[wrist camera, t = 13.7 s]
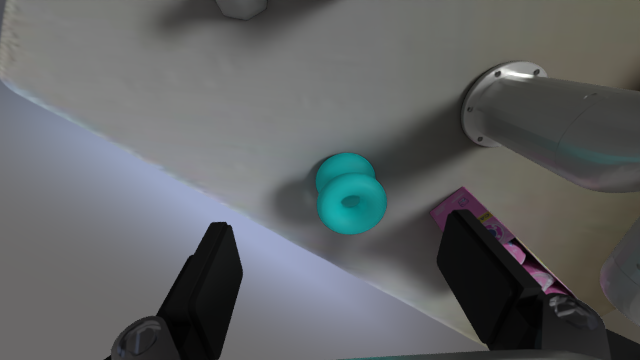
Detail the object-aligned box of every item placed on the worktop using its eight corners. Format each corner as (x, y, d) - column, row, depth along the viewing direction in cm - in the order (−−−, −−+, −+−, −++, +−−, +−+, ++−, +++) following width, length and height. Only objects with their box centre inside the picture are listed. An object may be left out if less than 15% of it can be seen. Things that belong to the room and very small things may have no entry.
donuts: (302, 208, 35) (360, 164, 32) (303, 175, 44) (349, 137, 41) (347, 249, 39) (403, 212, 36) (340, 210, 48) (384, 179, 45)
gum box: (526, 248, 54) (587, 307, 42) (492, 269, 57) (542, 330, 45) (462, 184, 46) (516, 235, 34) (427, 212, 49) (465, 268, 37)
